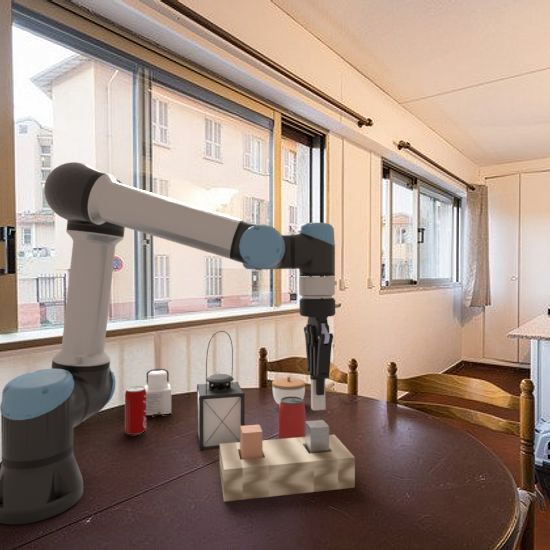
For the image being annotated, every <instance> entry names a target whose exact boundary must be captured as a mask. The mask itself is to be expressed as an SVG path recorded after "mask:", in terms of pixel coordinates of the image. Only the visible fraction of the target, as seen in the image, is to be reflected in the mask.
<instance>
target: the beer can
mask: <svg viewBox="0 0 550 550" xmlns="http://www.w3.org/2000/svg"><path fill="white" fill-rule="evenodd" d="M305 421H306V406H305V403H304V398H303V399H302V398H300V397H294V396H289V397H284V398H282V399H281V402H280V405H279V406H278V439H285V438H297V437H305Z"/></svg>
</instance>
